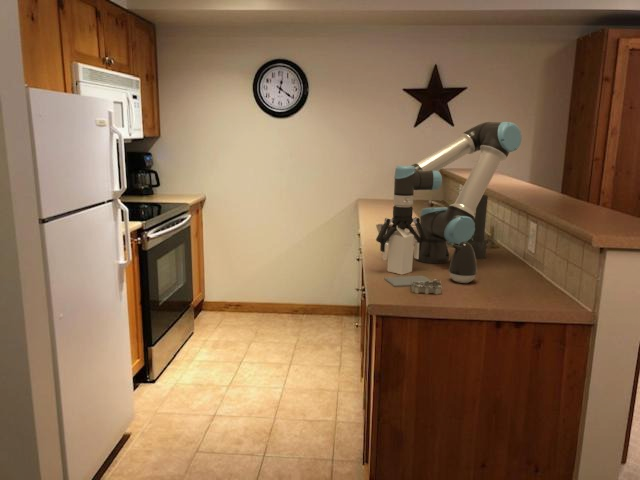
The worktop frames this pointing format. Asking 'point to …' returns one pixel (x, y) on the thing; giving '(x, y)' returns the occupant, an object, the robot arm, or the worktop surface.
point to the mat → (405, 280)
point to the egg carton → (427, 286)
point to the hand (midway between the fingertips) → (400, 259)
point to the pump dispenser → (463, 263)
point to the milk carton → (400, 251)
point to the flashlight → (480, 229)
